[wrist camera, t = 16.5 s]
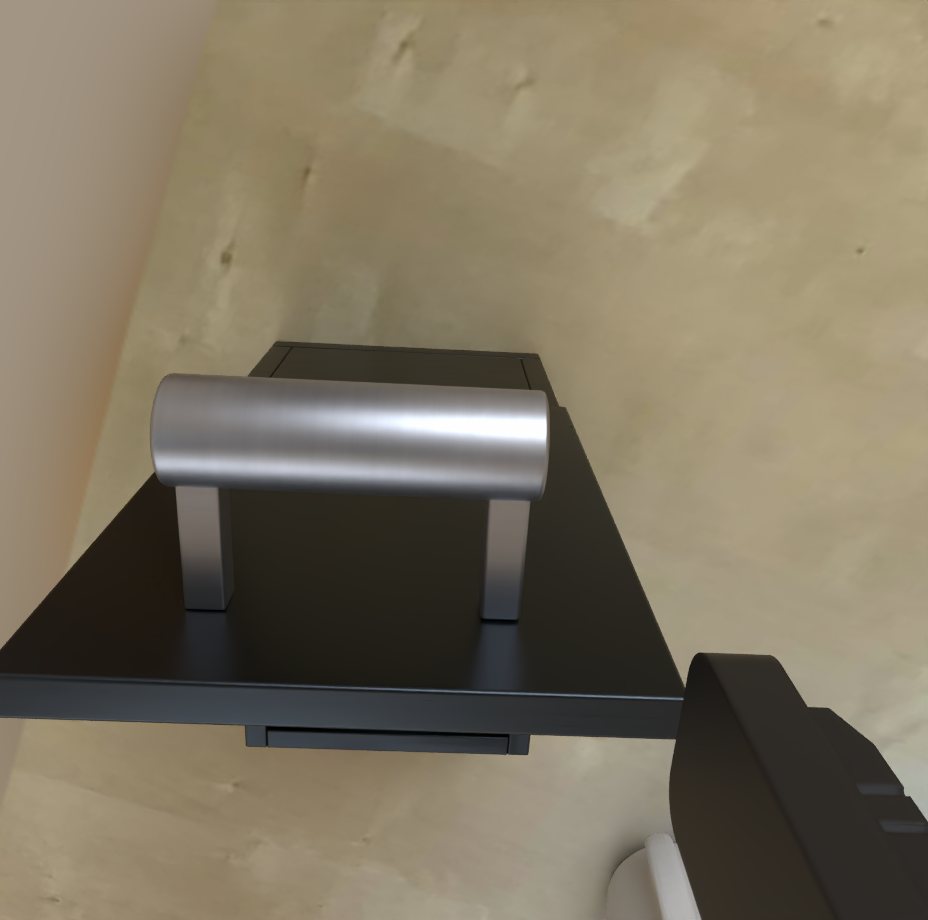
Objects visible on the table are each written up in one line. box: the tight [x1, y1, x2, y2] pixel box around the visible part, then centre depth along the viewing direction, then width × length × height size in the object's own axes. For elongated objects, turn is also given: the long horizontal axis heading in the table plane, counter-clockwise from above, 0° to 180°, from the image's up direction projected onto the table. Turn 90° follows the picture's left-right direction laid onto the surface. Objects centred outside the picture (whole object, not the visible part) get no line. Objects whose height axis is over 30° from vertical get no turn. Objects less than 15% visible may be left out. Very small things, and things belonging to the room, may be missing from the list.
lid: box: [0, 373, 685, 739], centre depth 19 cm, size 14×11×5 cm
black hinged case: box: [245, 341, 559, 755], centre depth 33 cm, size 14×11×8 cm
